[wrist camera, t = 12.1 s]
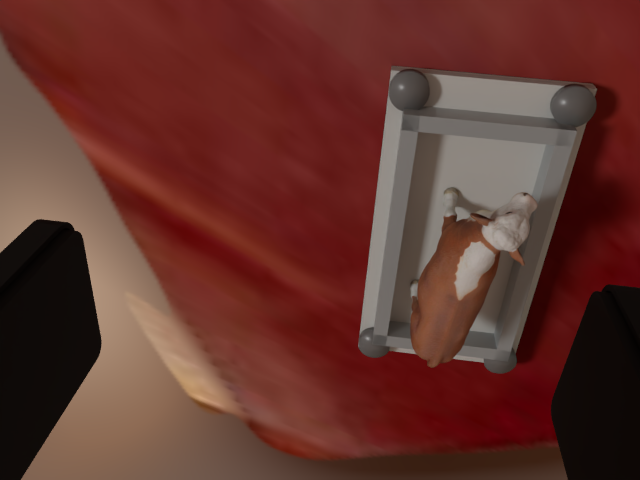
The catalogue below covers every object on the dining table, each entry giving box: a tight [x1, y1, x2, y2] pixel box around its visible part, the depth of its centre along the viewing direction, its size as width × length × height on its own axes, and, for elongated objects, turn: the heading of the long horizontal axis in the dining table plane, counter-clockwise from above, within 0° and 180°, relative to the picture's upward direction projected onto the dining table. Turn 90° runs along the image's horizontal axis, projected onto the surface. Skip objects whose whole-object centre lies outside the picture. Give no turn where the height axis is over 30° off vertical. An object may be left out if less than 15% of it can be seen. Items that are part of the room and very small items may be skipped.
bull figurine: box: [410, 187, 538, 368], centre depth 38 cm, size 4×13×8 cm, turn 163°
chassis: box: [358, 66, 597, 373], centre depth 41 cm, size 22×12×3 cm, turn 177°
